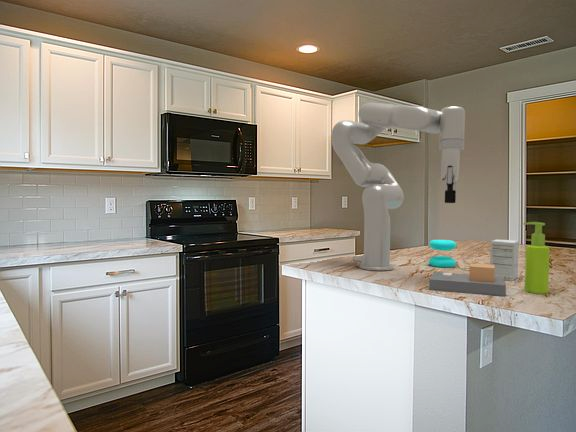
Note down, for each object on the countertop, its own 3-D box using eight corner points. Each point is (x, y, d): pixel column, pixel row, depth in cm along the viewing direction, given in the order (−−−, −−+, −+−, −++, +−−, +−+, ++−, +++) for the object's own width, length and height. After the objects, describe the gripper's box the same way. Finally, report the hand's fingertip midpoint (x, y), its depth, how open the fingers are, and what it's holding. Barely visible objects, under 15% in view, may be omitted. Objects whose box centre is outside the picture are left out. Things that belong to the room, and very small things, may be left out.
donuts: (424, 240, 174) (436, 238, 181) (424, 265, 174) (435, 263, 181) (449, 242, 166) (460, 240, 174) (448, 268, 167) (459, 266, 174)
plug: (468, 289, 128) (469, 266, 128) (469, 285, 134) (470, 263, 134) (494, 291, 126) (494, 268, 125) (493, 287, 132) (494, 264, 131)
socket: (429, 289, 129) (429, 276, 129) (433, 281, 142) (434, 269, 142) (505, 296, 121) (506, 282, 121) (503, 286, 134) (503, 274, 134)
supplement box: (495, 275, 154) (496, 239, 154) (518, 277, 150) (519, 240, 149) (488, 278, 149) (490, 240, 148) (513, 280, 144) (514, 242, 143)
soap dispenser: (524, 288, 133) (527, 221, 132) (550, 291, 128) (553, 222, 127) (517, 290, 128) (520, 222, 128) (544, 294, 124) (547, 223, 123)
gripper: (441, 148, 151) (439, 202, 152) (437, 143, 138) (435, 203, 138) (464, 148, 148) (463, 202, 149) (463, 143, 135) (461, 203, 135)
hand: (450, 202), depth 144 cm, fingers closed
